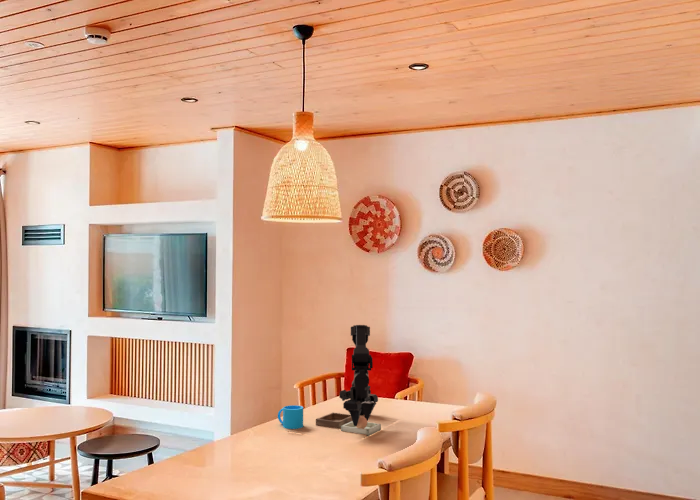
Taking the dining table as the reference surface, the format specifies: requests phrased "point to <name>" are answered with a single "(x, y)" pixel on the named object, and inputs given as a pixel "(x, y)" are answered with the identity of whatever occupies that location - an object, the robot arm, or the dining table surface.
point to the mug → (291, 417)
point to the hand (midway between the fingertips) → (360, 423)
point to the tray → (368, 430)
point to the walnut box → (334, 420)
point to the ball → (362, 422)
